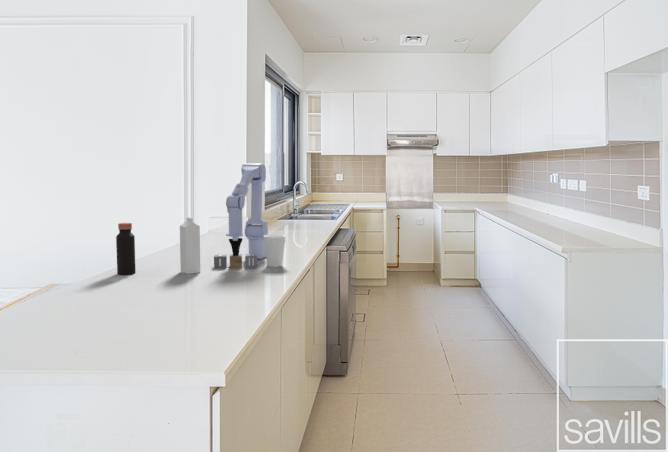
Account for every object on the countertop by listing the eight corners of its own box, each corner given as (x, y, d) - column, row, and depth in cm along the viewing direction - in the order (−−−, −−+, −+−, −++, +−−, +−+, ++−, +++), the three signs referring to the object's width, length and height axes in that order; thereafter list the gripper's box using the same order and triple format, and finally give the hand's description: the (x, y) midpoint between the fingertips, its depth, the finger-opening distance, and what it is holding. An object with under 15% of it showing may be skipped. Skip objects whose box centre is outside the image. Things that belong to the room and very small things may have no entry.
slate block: (245, 265, 244) (245, 254, 244) (257, 265, 245) (257, 253, 244) (245, 267, 239) (245, 256, 239) (257, 267, 240) (257, 255, 239)
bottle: (129, 275, 219) (128, 224, 217) (113, 274, 221) (112, 224, 219) (138, 272, 226) (137, 222, 224) (123, 271, 227) (122, 222, 225)
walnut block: (230, 265, 243) (230, 254, 243) (241, 265, 244) (241, 254, 243) (229, 268, 238) (229, 256, 238) (241, 267, 239) (241, 256, 238)
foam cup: (287, 264, 248) (287, 234, 247) (283, 267, 239) (283, 237, 238) (266, 263, 249) (265, 234, 248) (261, 267, 240) (261, 237, 239)
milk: (186, 274, 223) (185, 218, 221) (180, 272, 228) (179, 217, 226) (200, 272, 227) (199, 218, 225) (194, 270, 232) (193, 216, 229)
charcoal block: (214, 266, 242) (214, 254, 242) (226, 266, 243) (226, 254, 242) (214, 268, 237) (213, 256, 237) (226, 268, 238) (226, 256, 237)
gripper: (226, 222, 246) (226, 252, 247) (225, 225, 231) (225, 258, 233) (243, 221, 247) (243, 252, 248) (242, 225, 232) (242, 258, 234)
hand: (235, 255), depth 241 cm, fingers closed, pressing on walnut block
